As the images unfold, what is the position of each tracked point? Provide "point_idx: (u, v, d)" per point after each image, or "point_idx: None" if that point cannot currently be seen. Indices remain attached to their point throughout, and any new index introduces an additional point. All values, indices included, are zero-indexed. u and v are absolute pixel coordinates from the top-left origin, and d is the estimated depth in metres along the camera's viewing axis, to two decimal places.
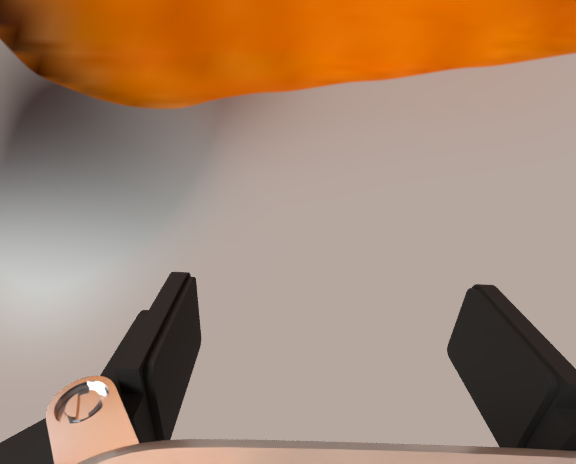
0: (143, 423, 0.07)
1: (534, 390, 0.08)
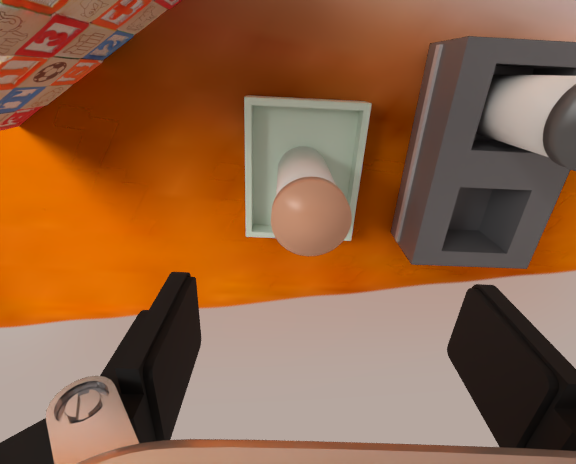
0: (143, 423, 0.07)
1: (534, 390, 0.08)
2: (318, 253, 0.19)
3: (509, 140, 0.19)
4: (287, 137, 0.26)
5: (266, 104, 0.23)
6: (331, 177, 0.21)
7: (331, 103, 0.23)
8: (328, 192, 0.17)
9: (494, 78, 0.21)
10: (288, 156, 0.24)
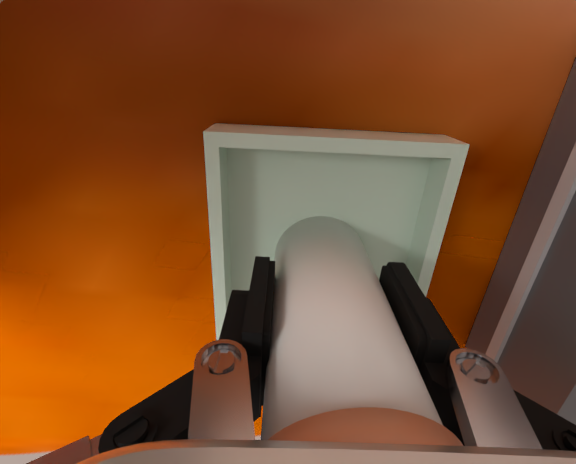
0: (260, 381, 0.08)
1: (412, 348, 0.09)
2: None
3: None
4: (292, 201, 0.14)
5: (250, 146, 0.11)
6: (398, 330, 0.09)
7: (386, 143, 0.11)
8: None
9: None
10: (295, 245, 0.12)
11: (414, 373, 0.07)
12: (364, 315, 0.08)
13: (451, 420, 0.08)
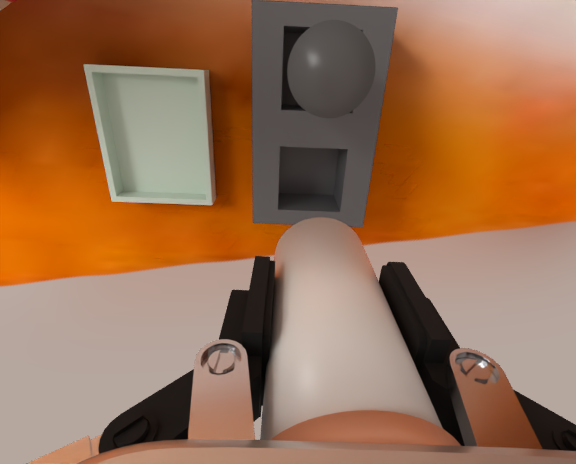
0: (260, 381, 0.08)
1: (412, 348, 0.09)
2: None
3: None
4: (139, 105, 0.27)
5: (105, 71, 0.25)
6: (398, 332, 0.09)
7: (166, 69, 0.25)
8: None
9: None
10: (294, 246, 0.12)
11: (413, 375, 0.07)
12: (363, 317, 0.08)
13: (451, 420, 0.08)
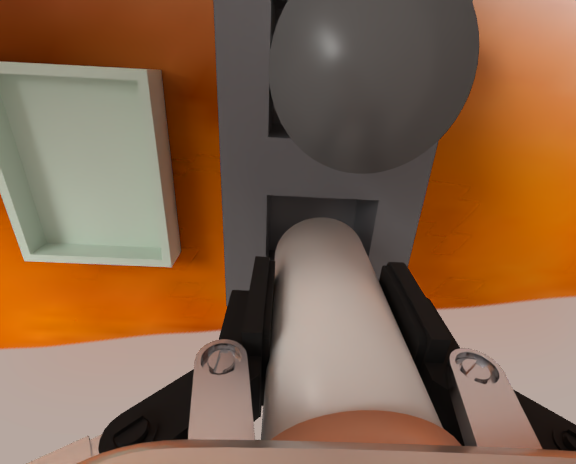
0: (260, 381, 0.08)
1: (412, 348, 0.09)
2: None
3: None
4: (57, 122, 0.18)
5: None
6: (398, 332, 0.09)
7: (86, 68, 0.15)
8: None
9: None
10: (295, 246, 0.12)
11: (414, 375, 0.07)
12: (364, 317, 0.08)
13: (451, 419, 0.08)
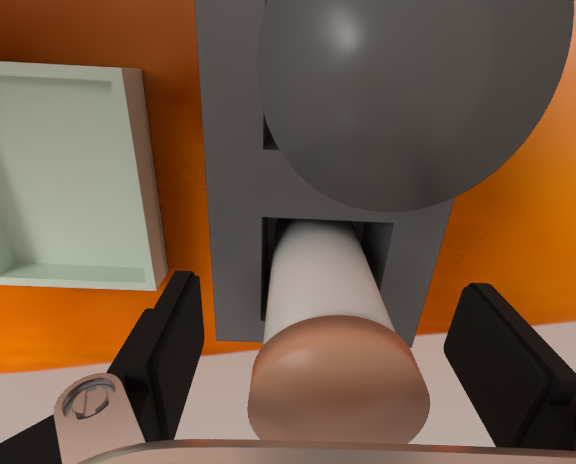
0: (149, 420, 0.07)
1: (528, 387, 0.08)
2: None
3: None
4: (23, 129, 0.16)
5: None
6: (372, 280, 0.11)
7: (50, 67, 0.13)
8: (382, 365, 0.07)
9: None
10: (292, 219, 0.14)
11: (379, 305, 0.09)
12: (344, 265, 0.10)
13: None
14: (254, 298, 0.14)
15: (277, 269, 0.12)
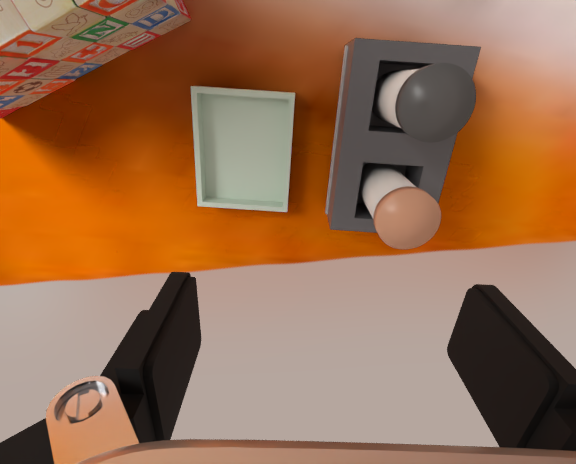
0: (143, 423, 0.07)
1: (534, 390, 0.08)
2: (409, 247, 0.23)
3: (391, 121, 0.24)
4: (231, 121, 0.31)
5: (208, 92, 0.28)
6: None
7: (262, 92, 0.28)
8: (425, 199, 0.22)
9: (389, 73, 0.26)
10: (371, 168, 0.29)
11: None
12: (405, 179, 0.25)
13: None
14: (353, 205, 0.29)
15: (372, 185, 0.26)
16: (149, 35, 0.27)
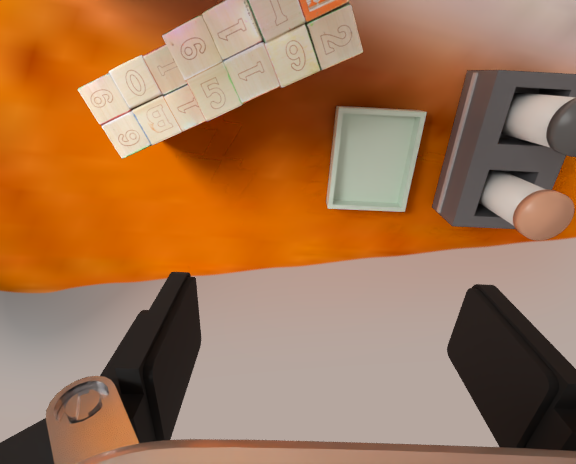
0: (143, 423, 0.07)
1: (534, 390, 0.08)
2: (543, 238, 0.29)
3: (524, 137, 0.29)
4: (362, 135, 0.36)
5: (353, 112, 0.33)
6: None
7: (399, 111, 0.33)
8: (563, 199, 0.27)
9: (513, 95, 0.31)
10: None
11: None
12: (531, 183, 0.30)
13: None
14: (475, 205, 0.34)
15: (499, 188, 0.32)
16: None
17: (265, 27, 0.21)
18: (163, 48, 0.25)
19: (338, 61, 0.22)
